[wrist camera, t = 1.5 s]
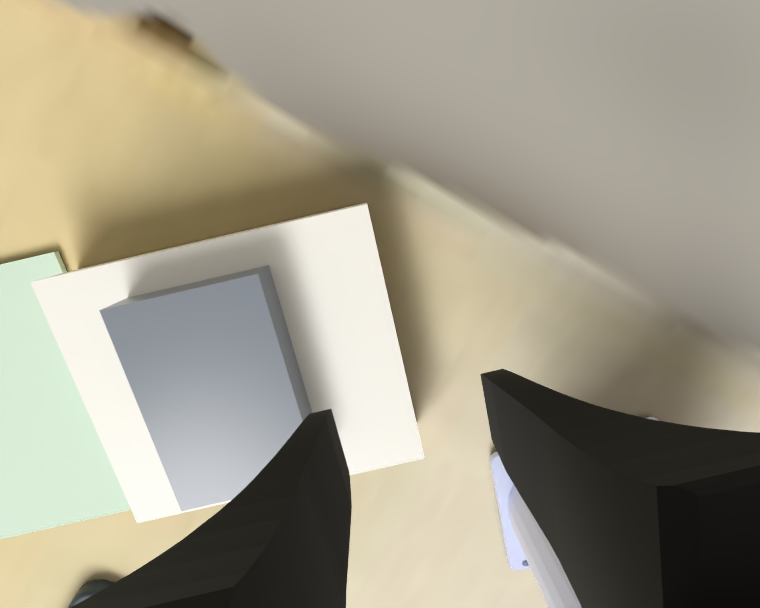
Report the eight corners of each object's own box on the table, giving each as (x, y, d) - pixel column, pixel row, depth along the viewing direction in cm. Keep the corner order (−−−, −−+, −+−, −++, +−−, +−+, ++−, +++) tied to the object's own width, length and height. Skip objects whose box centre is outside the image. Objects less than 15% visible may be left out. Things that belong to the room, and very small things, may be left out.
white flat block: (365, 202, 20) (367, 203, 17) (416, 425, 23) (424, 458, 20) (77, 269, 20) (30, 282, 17) (165, 482, 23) (137, 523, 20)
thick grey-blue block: (268, 265, 18) (257, 273, 16) (324, 452, 20) (320, 479, 18) (127, 297, 18) (99, 310, 16) (198, 480, 20) (181, 511, 18)
